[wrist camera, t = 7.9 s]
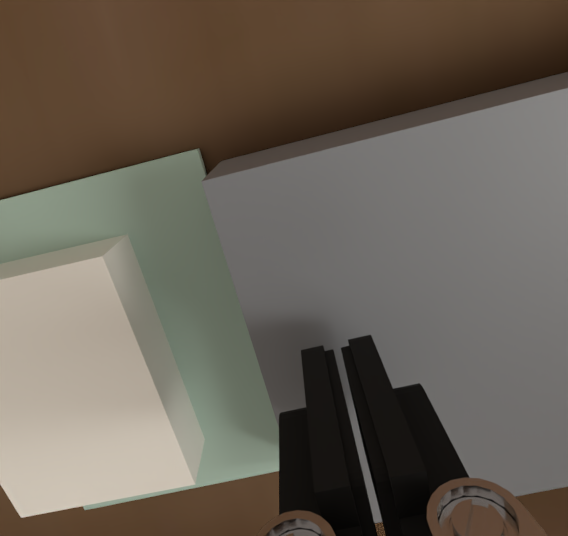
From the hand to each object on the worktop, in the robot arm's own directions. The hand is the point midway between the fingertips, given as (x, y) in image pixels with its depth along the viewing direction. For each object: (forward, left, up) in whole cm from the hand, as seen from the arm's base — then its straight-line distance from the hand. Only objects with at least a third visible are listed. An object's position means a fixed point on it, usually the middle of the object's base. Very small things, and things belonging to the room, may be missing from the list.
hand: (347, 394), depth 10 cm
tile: (+8, 0, -2) cm, 9 cm away
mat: (+7, 0, -4) cm, 8 cm away
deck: (-6, 0, -4) cm, 7 cm away
